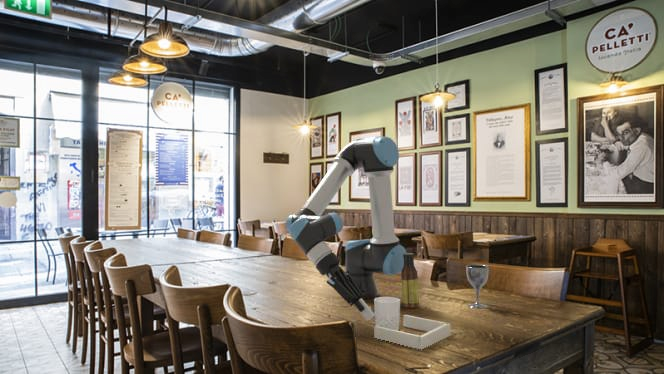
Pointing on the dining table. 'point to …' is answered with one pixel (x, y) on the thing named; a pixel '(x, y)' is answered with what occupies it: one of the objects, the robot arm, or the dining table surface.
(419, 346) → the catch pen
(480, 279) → the wine glass
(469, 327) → the dining table surface
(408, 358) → the dining table surface
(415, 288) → the sauce bottle
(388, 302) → the white cup
